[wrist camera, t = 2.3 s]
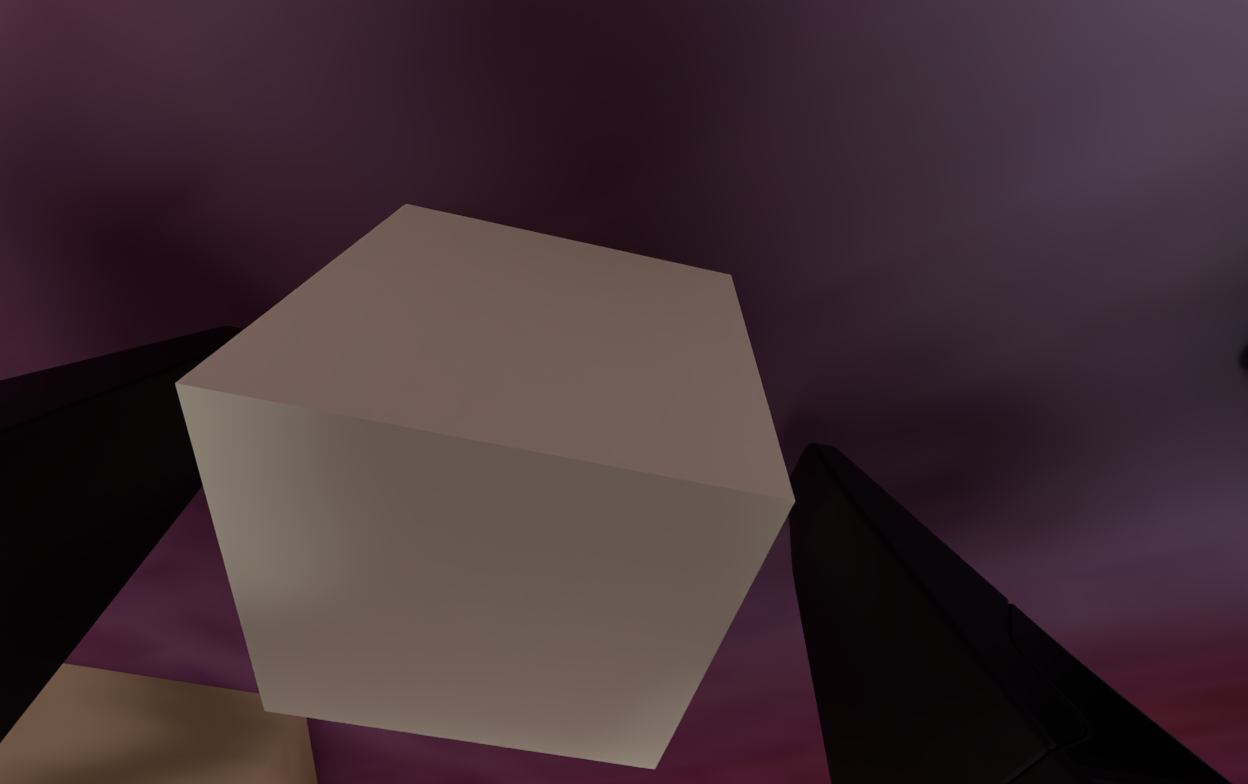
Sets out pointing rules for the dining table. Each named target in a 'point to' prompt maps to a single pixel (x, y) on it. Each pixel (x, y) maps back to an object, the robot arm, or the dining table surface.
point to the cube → (490, 486)
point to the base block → (152, 734)
